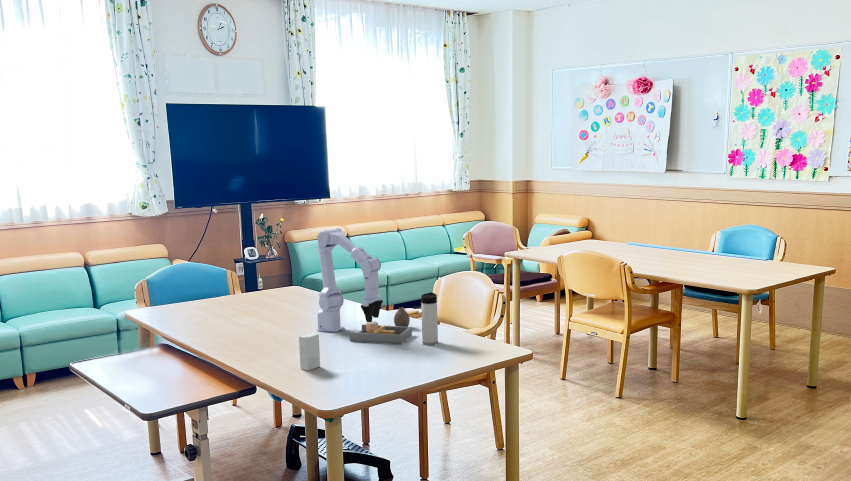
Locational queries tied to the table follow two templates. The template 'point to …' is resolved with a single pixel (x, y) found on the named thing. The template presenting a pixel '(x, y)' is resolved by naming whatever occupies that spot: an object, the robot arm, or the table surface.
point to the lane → (382, 335)
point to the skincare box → (309, 351)
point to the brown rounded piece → (401, 318)
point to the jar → (371, 326)
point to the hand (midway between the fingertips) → (372, 319)
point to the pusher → (383, 331)
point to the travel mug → (429, 319)
